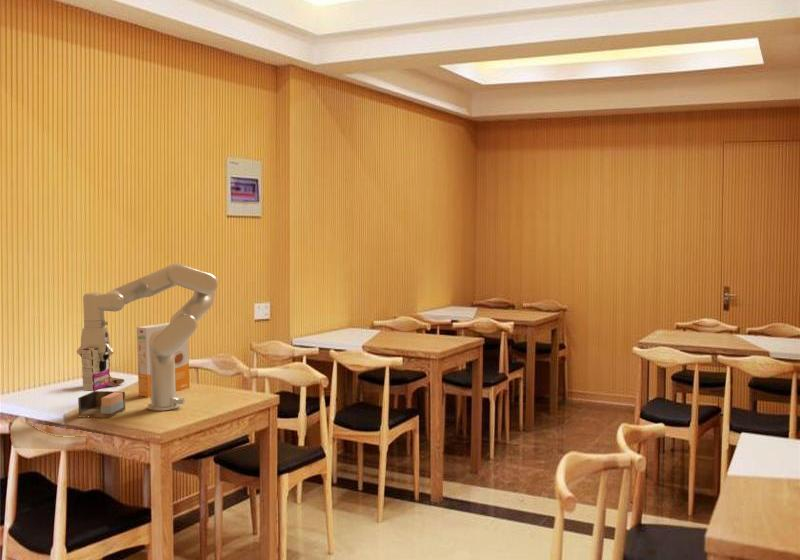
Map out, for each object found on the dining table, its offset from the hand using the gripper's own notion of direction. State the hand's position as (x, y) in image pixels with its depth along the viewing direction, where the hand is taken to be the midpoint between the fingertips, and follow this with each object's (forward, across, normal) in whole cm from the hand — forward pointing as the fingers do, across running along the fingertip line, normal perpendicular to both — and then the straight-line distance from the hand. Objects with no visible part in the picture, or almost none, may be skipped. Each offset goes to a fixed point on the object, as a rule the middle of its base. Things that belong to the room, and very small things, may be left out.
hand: (95, 370), depth 299 cm
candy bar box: (+7, 0, 0) cm, 7 cm away
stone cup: (+18, +24, -51) cm, 59 cm away
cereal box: (+17, -10, -41) cm, 45 cm away
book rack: (+17, -2, -1) cm, 17 cm away
